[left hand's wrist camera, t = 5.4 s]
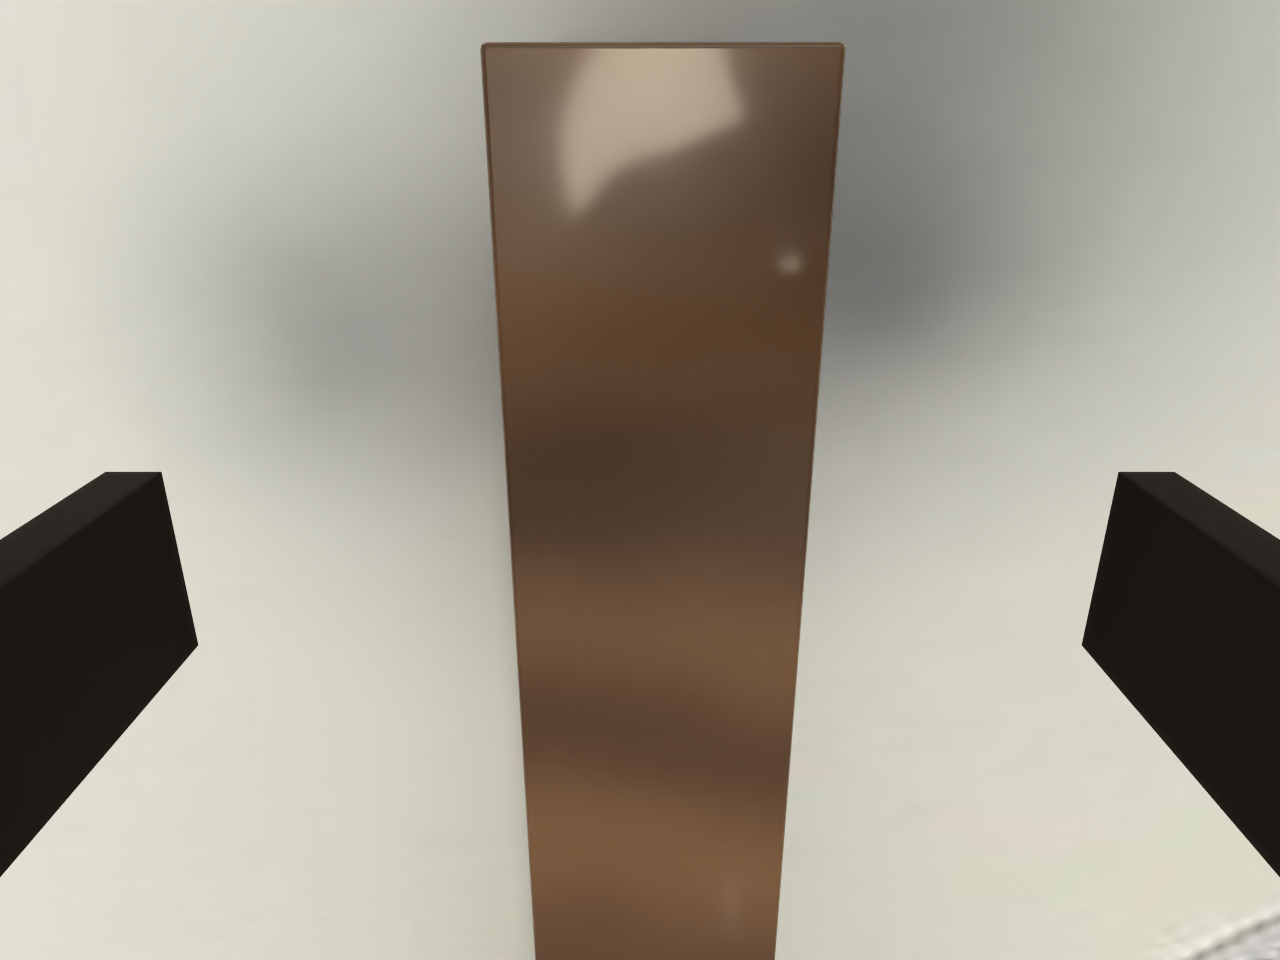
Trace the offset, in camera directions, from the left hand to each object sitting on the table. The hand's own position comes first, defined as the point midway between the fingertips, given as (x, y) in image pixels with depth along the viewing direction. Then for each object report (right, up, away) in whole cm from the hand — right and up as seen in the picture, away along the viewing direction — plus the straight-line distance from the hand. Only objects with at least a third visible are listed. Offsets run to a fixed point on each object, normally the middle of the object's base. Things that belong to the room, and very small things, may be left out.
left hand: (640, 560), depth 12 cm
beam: (0, -18, +20) cm, 27 cm away
